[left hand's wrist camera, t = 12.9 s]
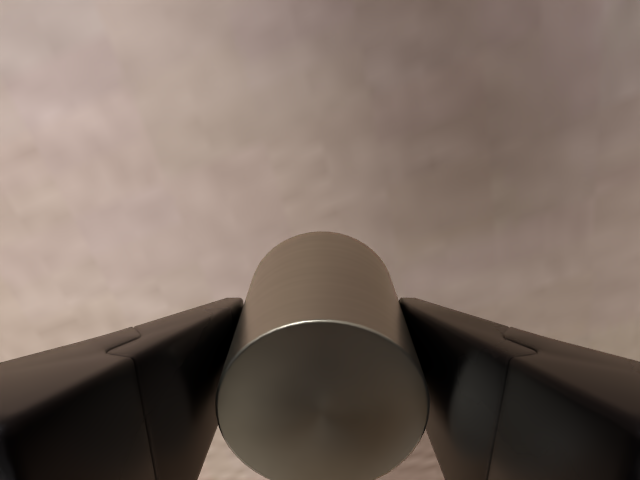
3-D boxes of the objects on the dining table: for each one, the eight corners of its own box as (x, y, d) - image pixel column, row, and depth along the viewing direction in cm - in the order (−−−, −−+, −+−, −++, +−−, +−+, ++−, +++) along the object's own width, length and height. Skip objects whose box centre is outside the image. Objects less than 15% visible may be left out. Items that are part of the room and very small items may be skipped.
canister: (263, 216, 11) (231, 300, 7) (411, 247, 12) (461, 345, 8) (239, 343, 13) (201, 474, 9) (371, 368, 13) (395, 506, 9)
